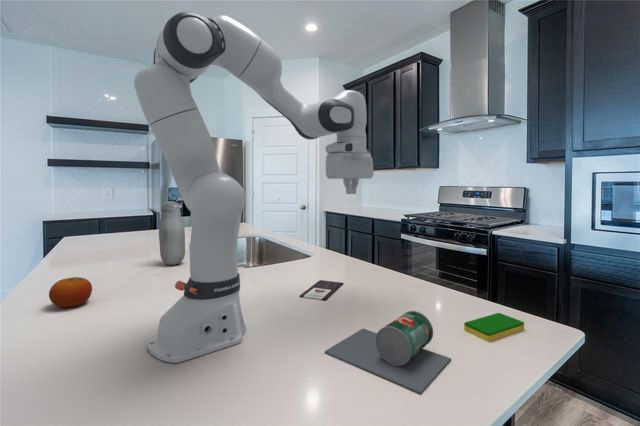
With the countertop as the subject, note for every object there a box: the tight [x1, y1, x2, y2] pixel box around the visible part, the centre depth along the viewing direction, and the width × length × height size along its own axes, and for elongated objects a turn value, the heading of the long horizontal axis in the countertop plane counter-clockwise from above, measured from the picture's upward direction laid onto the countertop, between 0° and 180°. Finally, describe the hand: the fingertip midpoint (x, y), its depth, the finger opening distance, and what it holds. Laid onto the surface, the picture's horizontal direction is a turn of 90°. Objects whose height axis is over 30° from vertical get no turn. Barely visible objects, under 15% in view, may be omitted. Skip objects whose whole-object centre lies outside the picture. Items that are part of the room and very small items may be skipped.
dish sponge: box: [463, 312, 525, 342], centre depth 86 cm, size 7×14×2 cm, turn 118°
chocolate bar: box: [299, 279, 344, 302], centre depth 116 cm, size 9×1×18 cm
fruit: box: [48, 276, 93, 308], centre depth 102 cm, size 11×10×8 cm
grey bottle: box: [158, 200, 186, 266], centre depth 149 cm, size 10×10×28 cm
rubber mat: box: [324, 328, 452, 395], centre depth 73 cm, size 15×22×1 cm
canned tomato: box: [376, 310, 434, 366], centre depth 73 cm, size 8×8×11 cm
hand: (351, 194), depth 104 cm, fingers closed
